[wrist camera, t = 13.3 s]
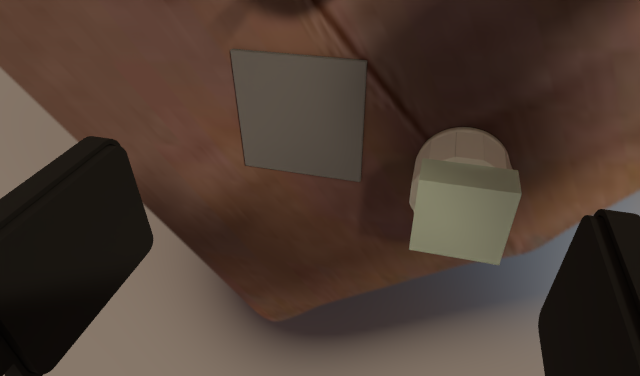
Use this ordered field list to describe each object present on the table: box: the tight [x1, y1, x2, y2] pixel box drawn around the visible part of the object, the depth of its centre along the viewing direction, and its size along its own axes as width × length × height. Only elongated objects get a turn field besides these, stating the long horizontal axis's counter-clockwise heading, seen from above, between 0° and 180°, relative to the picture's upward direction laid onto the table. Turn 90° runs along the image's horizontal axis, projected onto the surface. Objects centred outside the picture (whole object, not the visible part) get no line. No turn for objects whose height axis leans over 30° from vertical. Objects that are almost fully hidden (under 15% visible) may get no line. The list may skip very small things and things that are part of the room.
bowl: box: [409, 127, 513, 211], centre depth 38 cm, size 8×8×5 cm
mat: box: [230, 49, 367, 182], centre depth 41 cm, size 12×12×1 cm
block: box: [409, 158, 522, 265], centre depth 35 cm, size 7×7×3 cm
